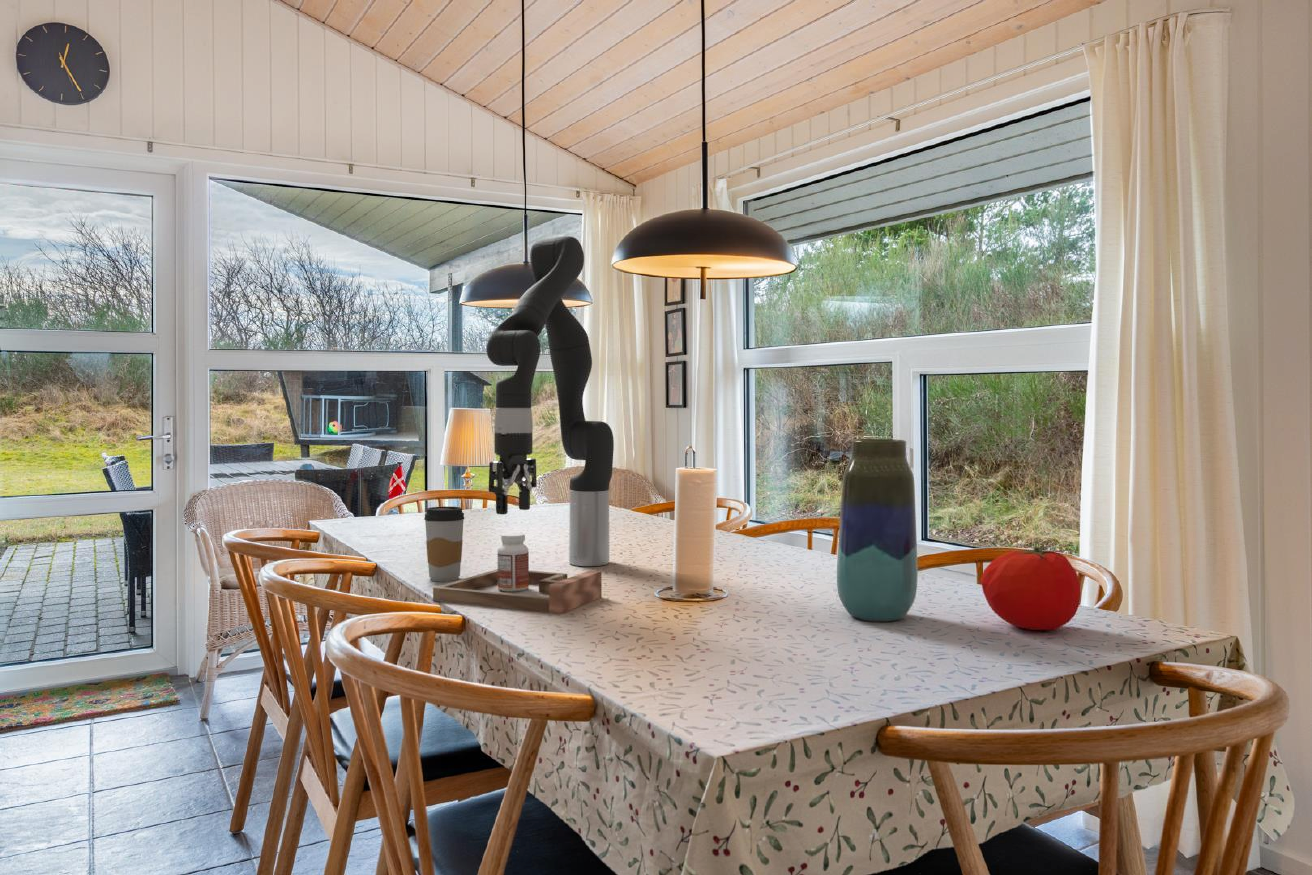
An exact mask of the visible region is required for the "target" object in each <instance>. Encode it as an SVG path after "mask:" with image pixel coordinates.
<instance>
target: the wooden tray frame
mask: <svg viewBox="0 0 1312 875" xmlns="http://www.w3.org/2000/svg"><path fill="white" fill-rule="evenodd" d="M602 575H603V573H602V571H601V570H593V569H592V570H590V569H589V570H587V571H583V572H581V573H578V574H576V575H572V576H570V577H568V573H563V572H560V573H559V572H551V571H550V572H549V571H548V572H547V571H540V570H539V571H538V570H529V585H530V584H531V585H538V593H539V594H545V595H547V594H548V596H540V595H532V594H530V595H529V594H520V593H512V592H502V591H500V592H499V591H488V590H481V589H482V588H485V587H488V586H489V587H490V586H491V585H495V584H498V568H497V569H493V570H489V571H487V572H483V573H479V574H475V575H472V576H470V577H465V578H462V579H457V580H454V581H450V582H449V583H448V582H447V583H444V584H441V585H438V586H434V587H432V601H437V602H444V603H445V602H446V603H454V604H463V605H474V606H483V607H491V608H492V607H493V608H502V609H510V610H511V609H512V610H522V611H530V612H541V613H542V612H543V613H549V614H559V615H562V614H565V613H567V612H569V611H572V610H575V609H576V608H579V607H581V606H584V605H586V604H588V603H591V602H593V601H596V600H598V599H601V598H602V596H603V595H602V593H603V592H602V588H603V587H602V584H603V583H602V582H603V581H602V577H603V576H602Z"/></svg>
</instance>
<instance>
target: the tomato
mask: <svg viewBox="0 0 1312 875" xmlns="http://www.w3.org/2000/svg"><path fill="white" fill-rule="evenodd" d="M1044 547H1045V544H1042V546H1040V548H1039V547H1038V546H1034V547H1033V550H1030V549H1024V550H1013V551H1009V552H1005V553H1003V554H1002V555H999V556H998V557H996V558H994V559H993V560H992V561H991V562H990V563H989V564H988V565H987V566H986V567H985V569H984V570H983V571H982V572H983V573H982V576H981V579H980V583H981V588H982V592H983V593H982V594H983V595H984V598H985V600H986V601H987V604H988V606H989V607H990V608H991V610H992V611H993V612H994V614H996V615H997V616H998V617H999V618H1000V619H1002V621H1005V622H1006V623H1008V624H1010V625H1012V626H1014V627H1019V628H1021V629H1024V628H1025V630H1028V629H1030V630H1029V631H1054V630H1056V629H1058V628H1061V627H1062V626H1065V625H1067V624H1068V623H1070V621H1071V620H1073V619H1074V616H1076V613H1077V611H1078V609H1079V606H1080V600H1081V583H1080V580H1079V577H1078V573H1077V571H1076V570H1075V568H1074V567H1073V565H1072V564H1071V562H1070V561H1069V559H1068V558H1067V557H1066V556H1065V555H1064V554H1061V553H1060V552H1061V550H1043V549H1044Z"/></svg>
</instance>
